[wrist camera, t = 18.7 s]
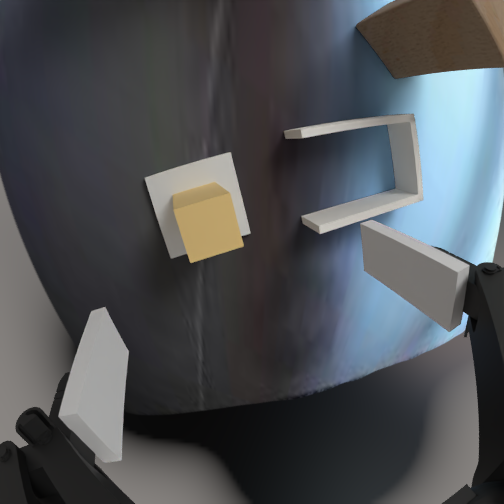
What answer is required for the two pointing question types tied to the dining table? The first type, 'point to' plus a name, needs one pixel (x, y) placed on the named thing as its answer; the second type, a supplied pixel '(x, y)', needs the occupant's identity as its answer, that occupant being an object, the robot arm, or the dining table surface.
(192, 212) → the block
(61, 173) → the dining table surface
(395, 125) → the white u-shaped frame
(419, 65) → the wooden block
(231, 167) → the tile
